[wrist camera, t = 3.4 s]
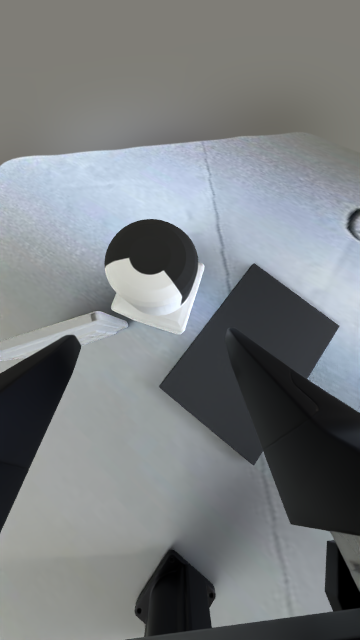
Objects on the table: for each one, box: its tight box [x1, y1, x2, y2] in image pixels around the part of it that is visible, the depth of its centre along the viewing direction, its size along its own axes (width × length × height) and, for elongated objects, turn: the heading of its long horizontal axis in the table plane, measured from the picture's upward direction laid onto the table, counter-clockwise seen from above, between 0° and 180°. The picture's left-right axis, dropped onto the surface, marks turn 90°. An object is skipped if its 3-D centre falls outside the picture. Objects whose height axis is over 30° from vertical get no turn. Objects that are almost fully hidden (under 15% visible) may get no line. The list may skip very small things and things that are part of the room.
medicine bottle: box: [105, 219, 204, 335], centre depth 14 cm, size 7×7×12 cm
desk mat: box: [159, 263, 339, 465], centre depth 20 cm, size 22×15×1 cm
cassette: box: [0, 311, 128, 361], centre depth 16 cm, size 12×2×8 cm, turn 109°
